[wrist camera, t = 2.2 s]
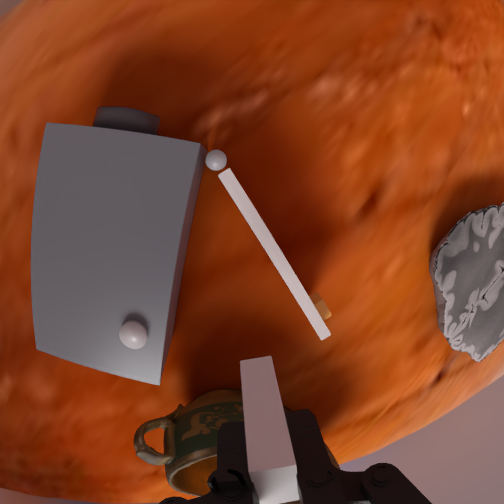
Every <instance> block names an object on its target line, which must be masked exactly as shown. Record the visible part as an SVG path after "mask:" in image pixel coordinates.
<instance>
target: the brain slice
mask: <svg viewBox="0 0 504 504" xmlns="http://www.w3.org/2000/svg"><path fill="white" fill-rule="evenodd" d="M429 272H430V274H431V278H432V281H433V284H434V293H435V298H436V306H437V321H438V326H439V329H440V330H441V332H442V333H443V334H444V336H445V337H446V339H447V341H448V343H449V344H450V346H451V347H452V349H453V350H459V351H462V352H467V353H468V354H469V355H470V357H471V358H472V359H474V360H475V361H476V362H479V361H482V360H483V359H484V358H485V357H487V356H488V355H489V354H490V353H491V352H492V351H493V350H494V349H495V348H496V347H497V346H498V345H499V343H500V342H501V341H502V340H503V339H504V202H503V203H502V204H501V205H500V206H499V207H497V206H496V205H491V206H488V207H487V208H485V209H479V210H476V211H471V212H469V213H467V214H466V215H465V216H463V217H462V218H461V219H460V220H459V221H458V222H457V223H456V224H455V225H454V226H453V227H452V228H451V229H450V231H449V232H448V233H447V234H446V236H445V237H443V238H442V239H441V240H440V242H439V243H438V244H437V246H436V248H435V249H434V251H433V252H432V254H431V257H430V260H429Z"/></svg>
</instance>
